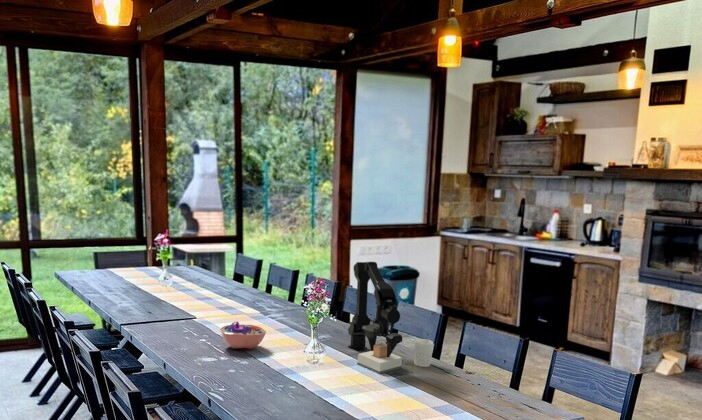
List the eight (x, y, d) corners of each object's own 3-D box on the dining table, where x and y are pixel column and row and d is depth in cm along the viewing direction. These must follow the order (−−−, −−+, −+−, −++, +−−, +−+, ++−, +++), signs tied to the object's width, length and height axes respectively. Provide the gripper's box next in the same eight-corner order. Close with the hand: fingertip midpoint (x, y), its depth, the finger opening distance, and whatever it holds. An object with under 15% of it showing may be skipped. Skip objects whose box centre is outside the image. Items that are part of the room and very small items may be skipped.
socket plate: (357, 364, 228) (358, 352, 228) (379, 359, 237) (379, 347, 237) (379, 374, 219) (380, 361, 218) (401, 368, 227) (402, 356, 227)
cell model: (256, 356, 229) (258, 330, 229) (212, 350, 233) (213, 324, 233) (270, 345, 246) (271, 320, 245) (228, 339, 250) (230, 315, 249)
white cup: (417, 367, 229) (418, 344, 229) (410, 361, 237) (411, 338, 236) (434, 367, 231) (436, 344, 231) (426, 361, 239) (428, 338, 238)
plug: (372, 363, 227) (373, 344, 227) (380, 361, 230) (381, 343, 230) (378, 366, 225) (379, 347, 224) (386, 364, 228) (387, 345, 227)
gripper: (353, 314, 228) (350, 351, 229) (385, 325, 214) (382, 364, 215) (372, 311, 236) (369, 346, 236) (404, 321, 222) (401, 359, 223)
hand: (380, 354), depth 228 cm, fingers open, 9 cm apart
